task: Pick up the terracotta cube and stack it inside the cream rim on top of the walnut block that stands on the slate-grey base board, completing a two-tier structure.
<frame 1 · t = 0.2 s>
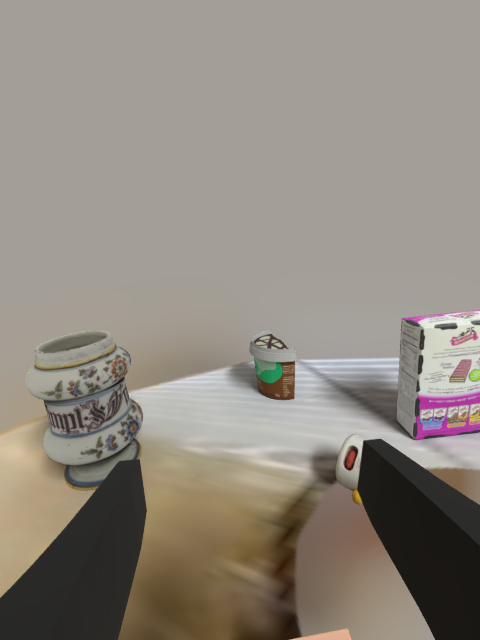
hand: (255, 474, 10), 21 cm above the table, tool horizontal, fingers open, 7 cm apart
roller toy: (361, 487, 34), on the table
candy bar box: (439, 426, 43), on the table
food container: (269, 390, 57), on the table
apothecary jar: (104, 462, 41), on the table
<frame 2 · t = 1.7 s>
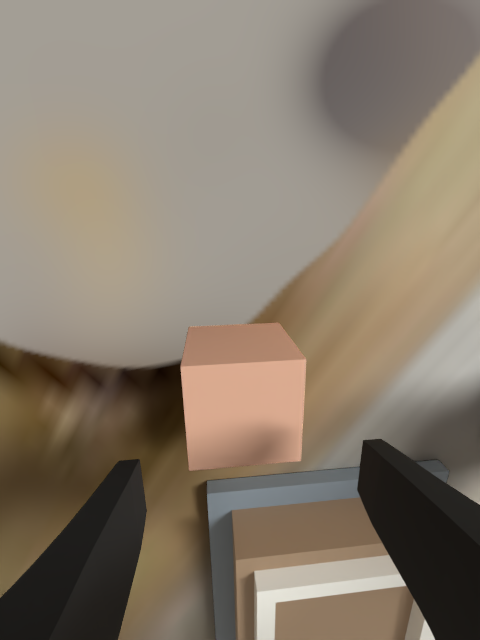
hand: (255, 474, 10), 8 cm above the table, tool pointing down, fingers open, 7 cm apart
terracotta cube: (235, 365, 17), on the table
build base: (319, 556, 22), on the table
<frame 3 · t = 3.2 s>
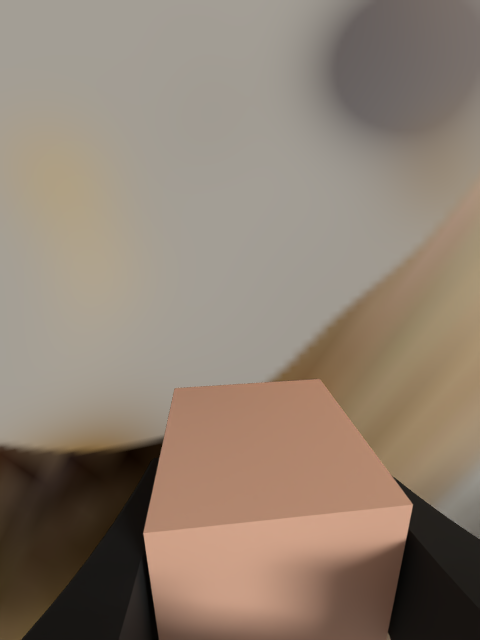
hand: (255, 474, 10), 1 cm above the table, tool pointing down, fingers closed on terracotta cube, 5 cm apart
terracotta cube: (249, 444, 11), on the table, touching gripper
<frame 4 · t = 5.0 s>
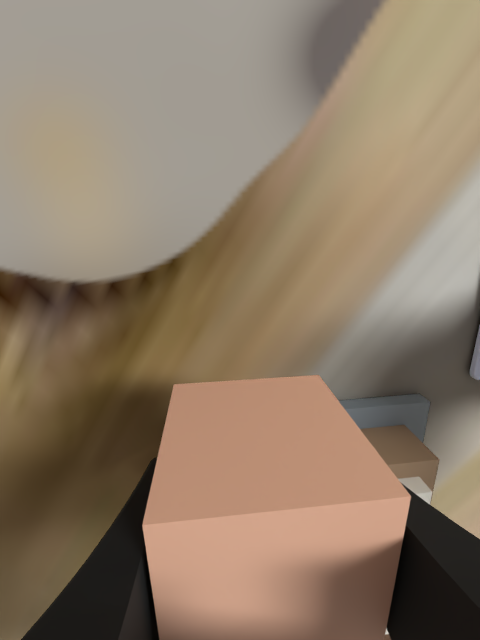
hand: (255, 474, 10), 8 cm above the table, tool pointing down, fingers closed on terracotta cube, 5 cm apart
terracotta cube: (248, 440, 11), point 7 cm above the table, touching gripper
build base: (296, 502, 21), on the table
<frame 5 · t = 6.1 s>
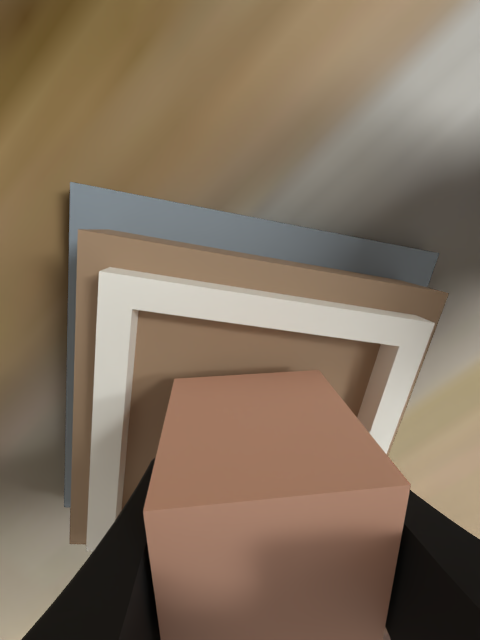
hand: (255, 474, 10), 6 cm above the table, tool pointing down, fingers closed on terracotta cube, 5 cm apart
terracotta cube: (248, 435, 11), point 5 cm above the table, touching gripper
build base: (237, 379, 16), on the table
when the fingers open (6 cm above the table, at t = 6.9 s): terracotta cube stays where it is, resting on build base.
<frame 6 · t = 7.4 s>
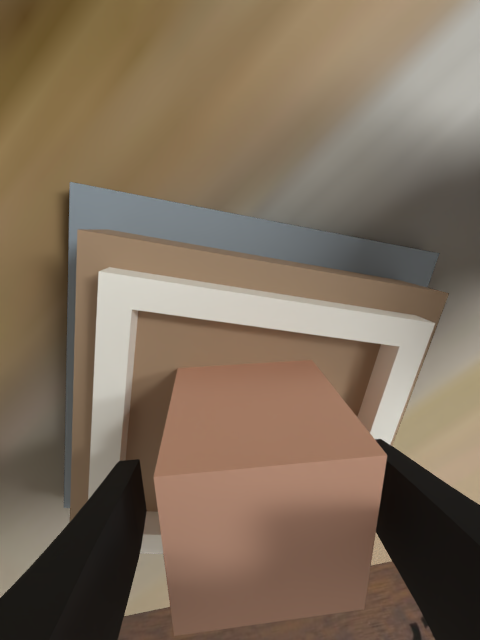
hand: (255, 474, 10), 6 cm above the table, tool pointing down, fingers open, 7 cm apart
terracotta cube: (247, 421, 12), point 4 cm above the table, touching build base
build base: (237, 379, 16), on the table
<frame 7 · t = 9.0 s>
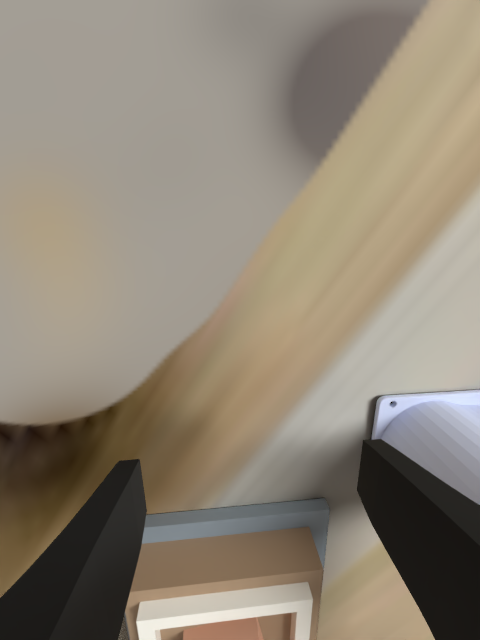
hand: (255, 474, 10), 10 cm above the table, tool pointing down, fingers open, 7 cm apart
build base: (224, 581, 25), on the table
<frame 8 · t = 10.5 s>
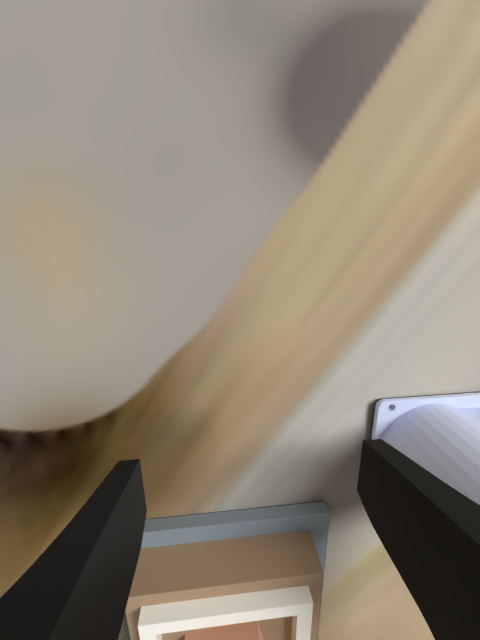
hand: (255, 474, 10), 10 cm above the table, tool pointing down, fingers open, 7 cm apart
build base: (225, 584, 25), on the table
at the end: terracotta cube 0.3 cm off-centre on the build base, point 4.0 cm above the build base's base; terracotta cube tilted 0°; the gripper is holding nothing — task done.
